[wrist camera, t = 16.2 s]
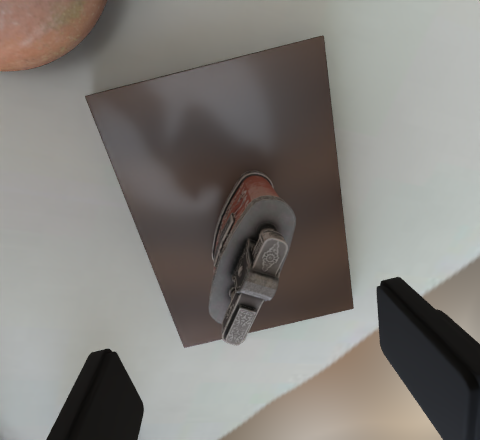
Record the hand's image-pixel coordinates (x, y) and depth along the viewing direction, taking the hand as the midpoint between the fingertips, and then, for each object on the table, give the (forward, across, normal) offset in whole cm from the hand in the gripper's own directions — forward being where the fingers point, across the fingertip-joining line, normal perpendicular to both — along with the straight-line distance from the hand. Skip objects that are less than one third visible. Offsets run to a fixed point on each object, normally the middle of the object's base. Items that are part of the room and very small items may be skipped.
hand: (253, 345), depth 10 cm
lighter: (+13, -1, 0) cm, 13 cm away
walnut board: (+14, -1, 0) cm, 14 cm away
